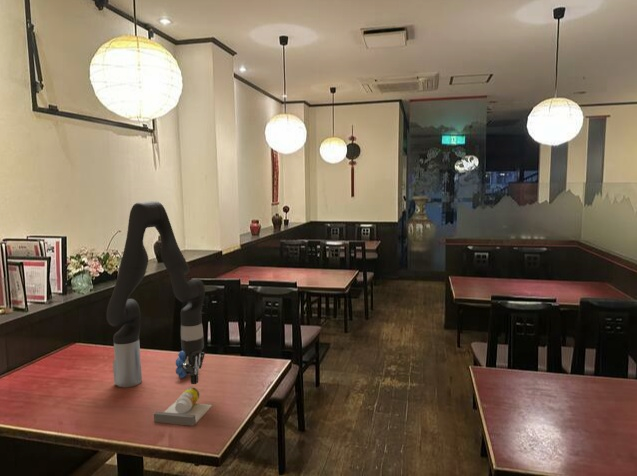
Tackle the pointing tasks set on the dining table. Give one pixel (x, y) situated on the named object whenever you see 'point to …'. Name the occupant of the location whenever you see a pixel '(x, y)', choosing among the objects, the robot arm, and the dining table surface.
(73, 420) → the dining table surface
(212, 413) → the dining table surface
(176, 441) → the dining table surface
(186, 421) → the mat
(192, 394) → the supplement bottle
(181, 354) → the grapes
